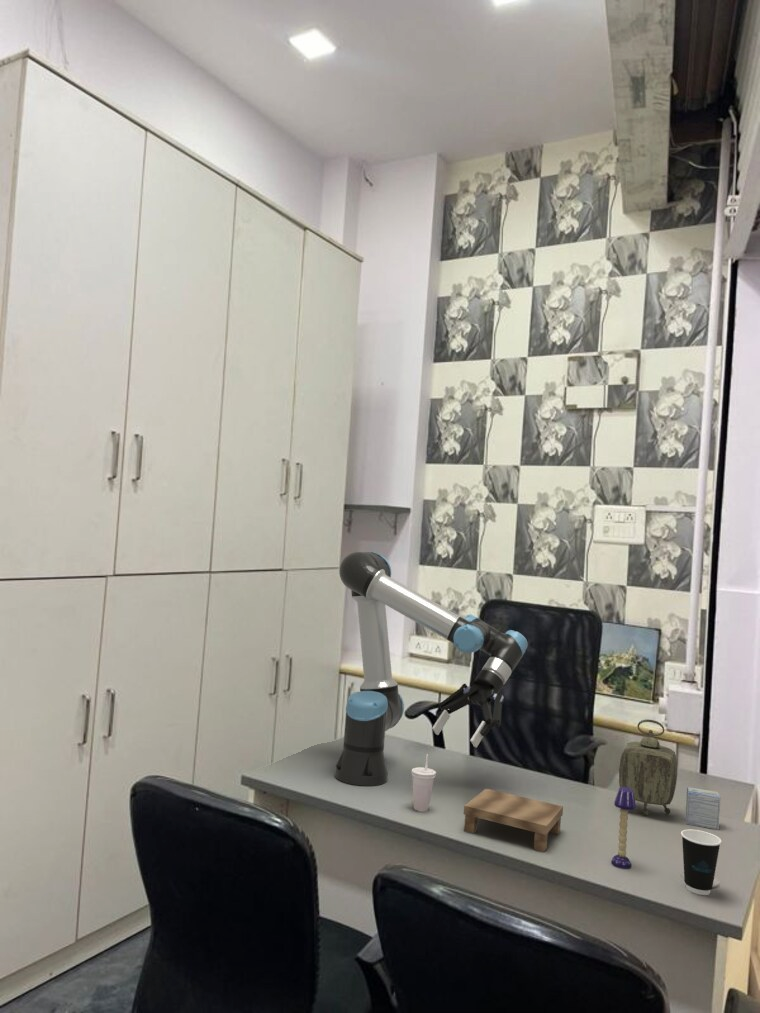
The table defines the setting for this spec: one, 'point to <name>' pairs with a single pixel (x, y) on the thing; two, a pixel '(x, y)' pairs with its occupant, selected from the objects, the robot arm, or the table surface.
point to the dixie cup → (699, 860)
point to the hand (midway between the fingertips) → (453, 737)
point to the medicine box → (702, 808)
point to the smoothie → (422, 786)
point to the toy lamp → (623, 824)
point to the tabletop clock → (649, 770)
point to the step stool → (514, 814)
